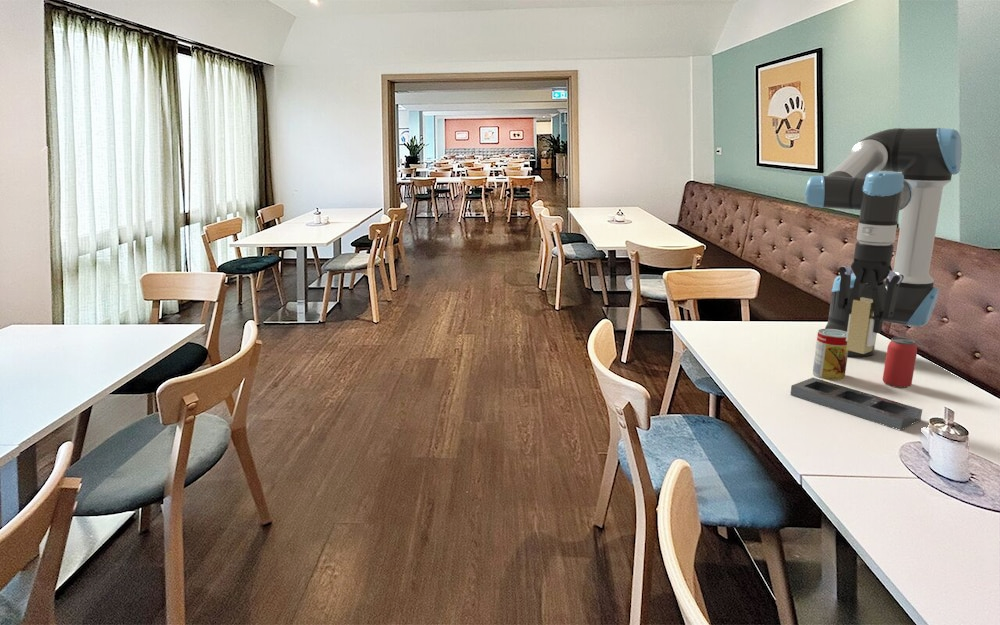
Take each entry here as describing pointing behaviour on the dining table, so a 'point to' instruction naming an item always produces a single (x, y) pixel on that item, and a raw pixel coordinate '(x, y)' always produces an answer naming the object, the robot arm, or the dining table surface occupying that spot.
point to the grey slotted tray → (857, 403)
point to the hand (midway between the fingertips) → (860, 342)
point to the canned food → (830, 354)
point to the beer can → (900, 362)
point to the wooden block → (860, 325)
